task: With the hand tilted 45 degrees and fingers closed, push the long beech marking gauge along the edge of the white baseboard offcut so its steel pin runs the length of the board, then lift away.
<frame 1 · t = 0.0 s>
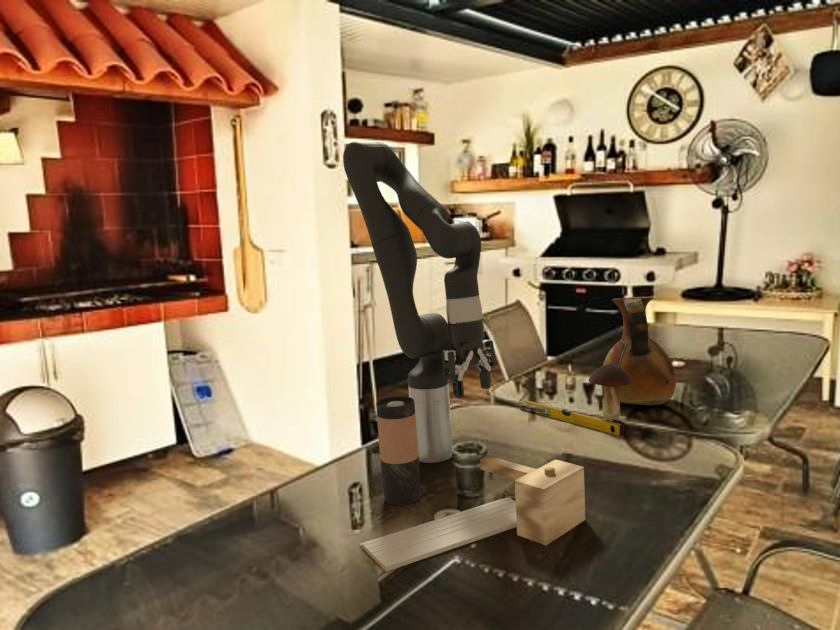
hand: (472, 393, 144), 17 cm above the table, tool pointing down, fingers open, 8 cm apart
baseboard: (449, 534, 120), on the table
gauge: (551, 527, 118), on the table
ceramic pitcher: (638, 403, 186), on the table
decorative mushroom: (611, 421, 172), on the table
travel mug: (402, 498, 134), on the table
spirit level: (567, 422, 175), on the table
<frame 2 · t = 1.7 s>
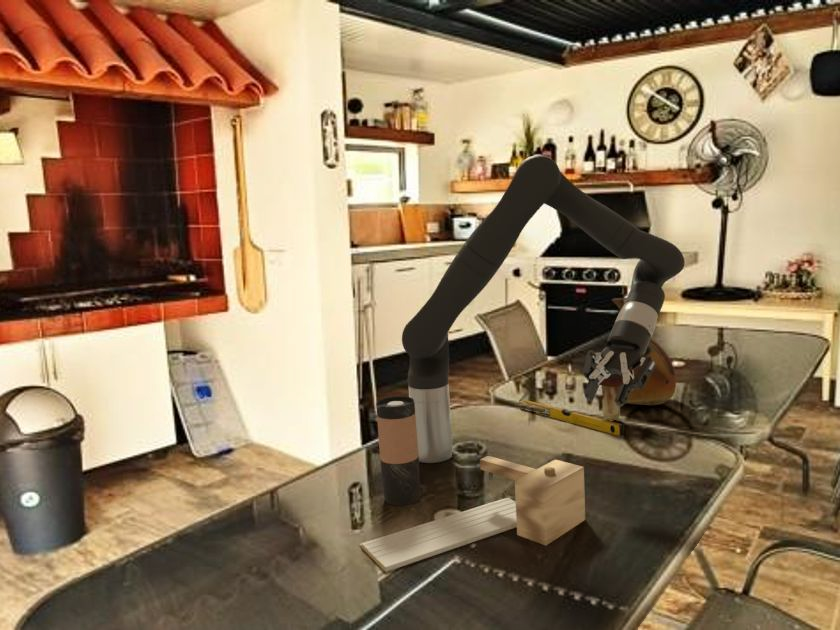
hand: (603, 401, 128), 18 cm above the table, tool tilted 45°, fingers open, 5 cm apart
nothing on the table moved.
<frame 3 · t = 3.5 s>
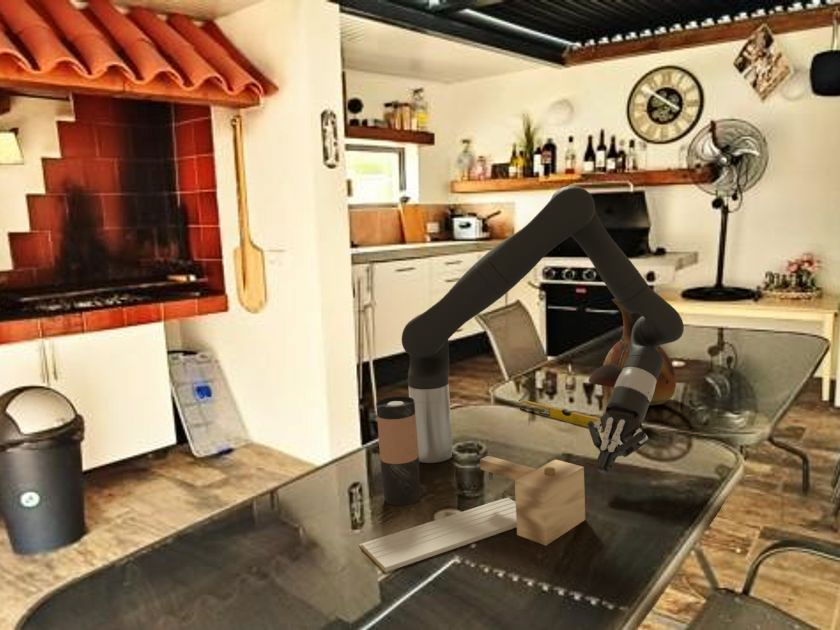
hand: (601, 471, 129), 5 cm above the table, tool tilted 45°, fingers closed
nothing on the table moved.
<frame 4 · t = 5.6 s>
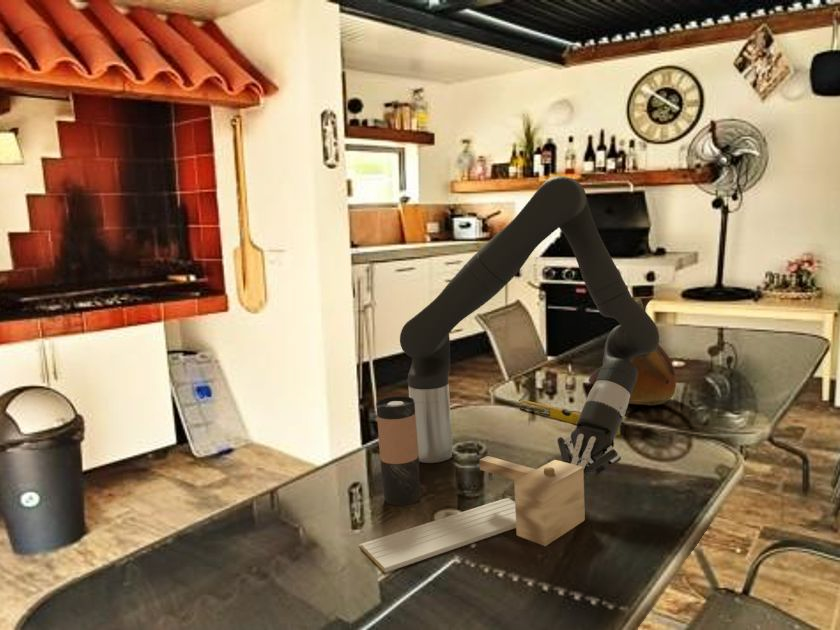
hand: (570, 491, 122), 4 cm above the table, tool tilted 45°, fingers closed
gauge: (551, 527, 118), on the table, touching gripper
everything else where it was.
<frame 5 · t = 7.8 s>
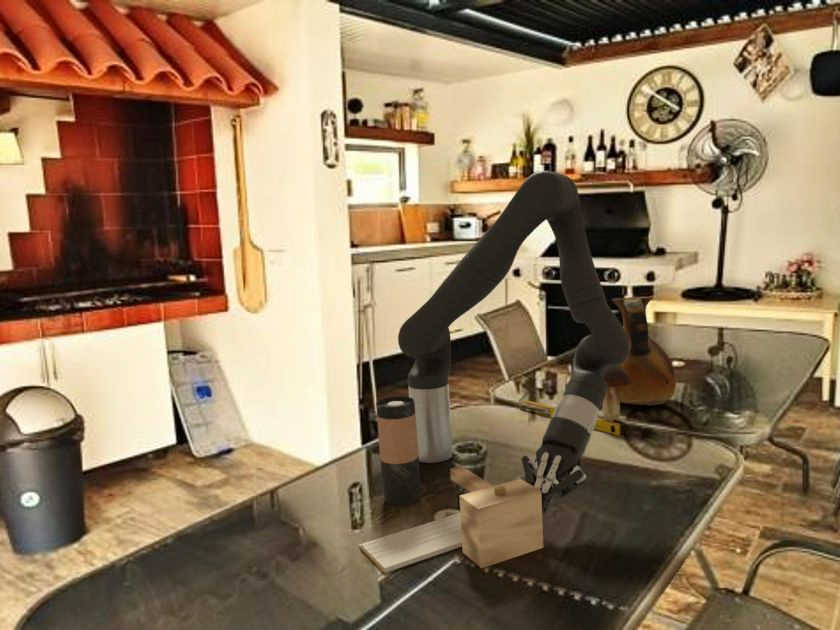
hand: (534, 514, 114), 4 cm above the table, tool tilted 45°, fingers closed
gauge: (502, 550, 111), on the table, touching gripper
everything else where it was.
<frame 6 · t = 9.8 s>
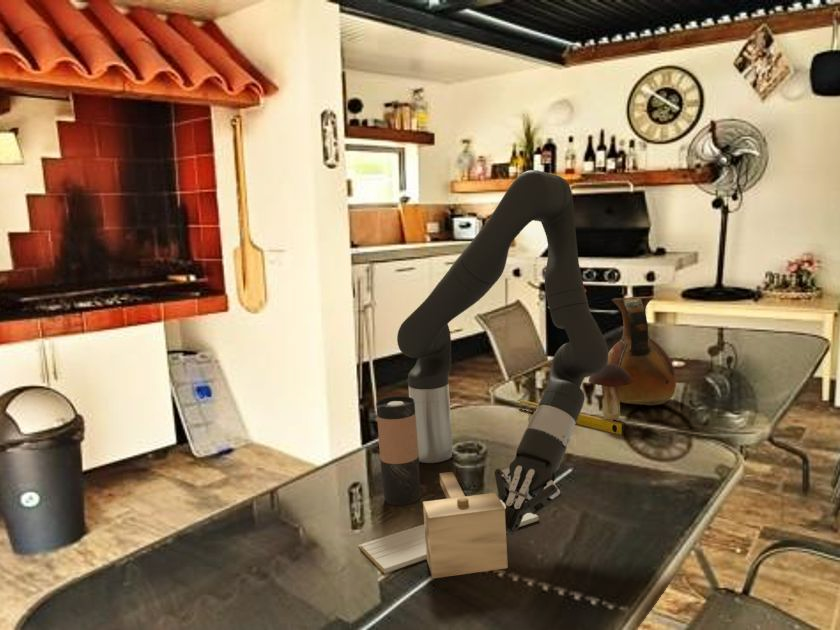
hand: (506, 531, 109), 4 cm above the table, tool tilted 45°, fingers closed
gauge: (466, 563, 108), on the table, touching gripper
everything else where it was.
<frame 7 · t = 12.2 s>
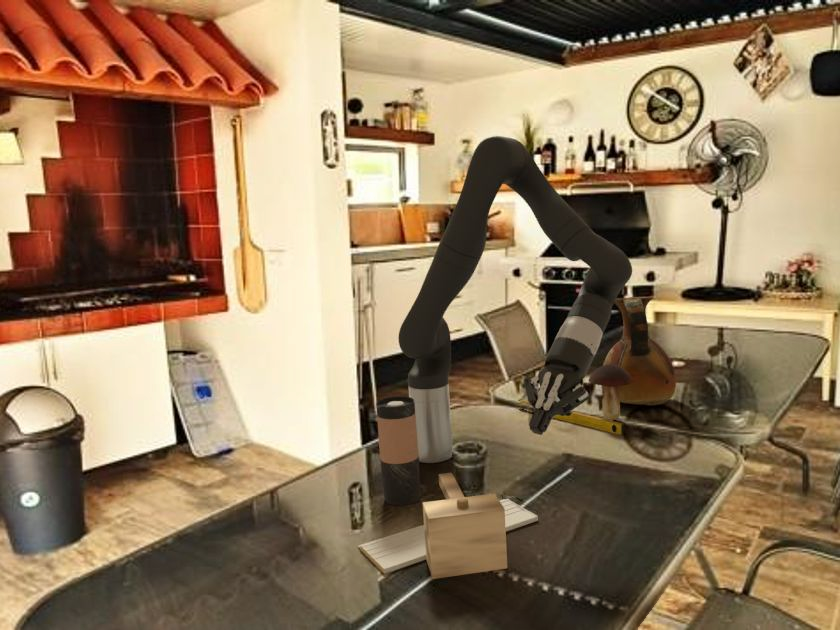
hand: (535, 431, 113), 18 cm above the table, tool tilted 45°, fingers closed
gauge: (466, 564, 108), on the table
everything else where it was.
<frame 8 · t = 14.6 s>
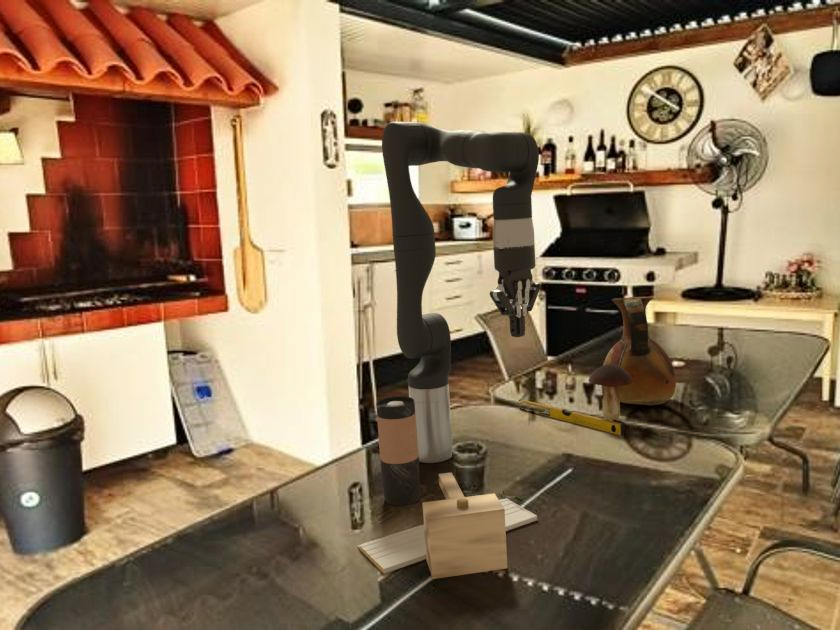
hand: (517, 336, 126), 32 cm above the table, tool pointing down, fingers closed
nothing on the table moved.
at the end: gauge inside the target area (3.9 cm from its centre), on the table; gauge tilted 0°; baseboard moved 1.1 cm from its start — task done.
